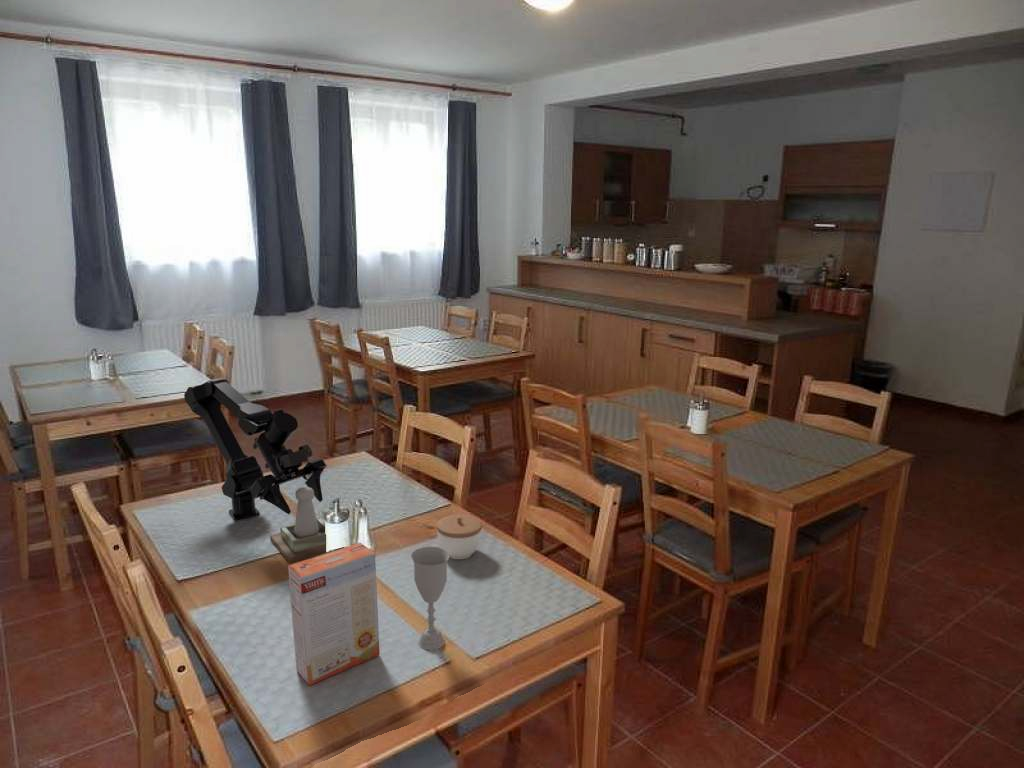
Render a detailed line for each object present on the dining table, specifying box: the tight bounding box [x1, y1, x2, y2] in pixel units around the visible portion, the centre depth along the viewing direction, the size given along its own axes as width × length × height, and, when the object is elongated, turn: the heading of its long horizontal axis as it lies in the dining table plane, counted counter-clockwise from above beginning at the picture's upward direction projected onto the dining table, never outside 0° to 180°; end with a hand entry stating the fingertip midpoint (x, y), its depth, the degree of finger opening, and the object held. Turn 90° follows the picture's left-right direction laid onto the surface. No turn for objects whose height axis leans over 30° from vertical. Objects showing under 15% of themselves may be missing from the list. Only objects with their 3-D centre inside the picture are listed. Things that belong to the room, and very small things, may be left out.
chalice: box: [410, 546, 450, 651], centre depth 130 cm, size 7×7×18 cm
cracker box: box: [287, 542, 381, 686], centre depth 123 cm, size 14×6×21 cm, turn 129°
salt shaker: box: [294, 486, 319, 540], centre depth 168 cm, size 6×6×13 cm
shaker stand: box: [269, 517, 326, 564], centre depth 170 cm, size 14×14×4 cm
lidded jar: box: [436, 513, 483, 560], centre depth 165 cm, size 11×11×9 cm
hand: (305, 507), depth 168 cm, fingers open, 9 cm apart
